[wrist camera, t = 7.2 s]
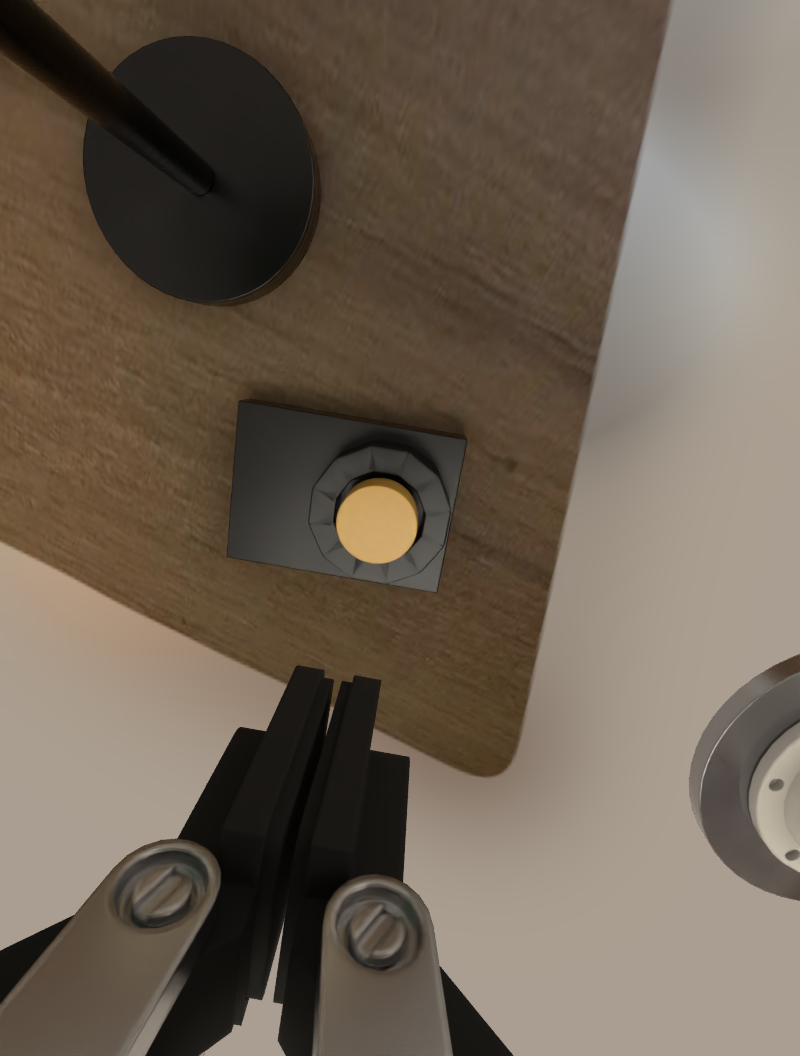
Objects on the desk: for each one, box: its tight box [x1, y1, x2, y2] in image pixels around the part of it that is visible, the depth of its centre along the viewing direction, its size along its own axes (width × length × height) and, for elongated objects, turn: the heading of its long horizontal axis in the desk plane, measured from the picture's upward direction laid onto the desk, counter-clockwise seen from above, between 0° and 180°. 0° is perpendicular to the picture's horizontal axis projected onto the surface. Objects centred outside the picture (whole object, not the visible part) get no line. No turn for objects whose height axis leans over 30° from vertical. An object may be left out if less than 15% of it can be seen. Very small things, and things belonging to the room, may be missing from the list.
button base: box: [227, 398, 467, 593], centre depth 27 cm, size 11×8×4 cm
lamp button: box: [336, 478, 418, 564], centre depth 25 cm, size 4×4×2 cm
